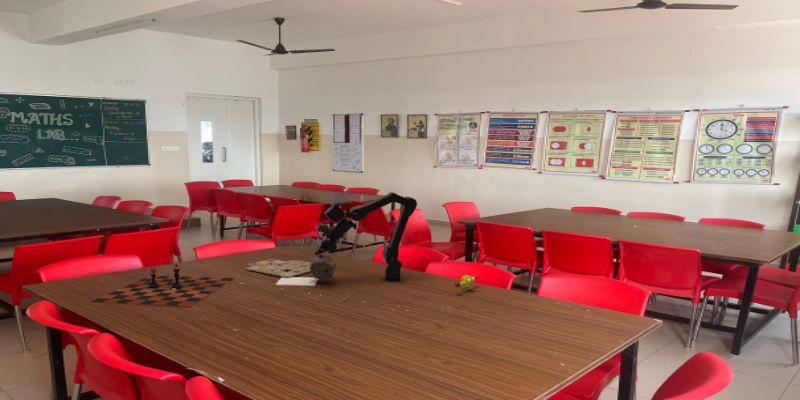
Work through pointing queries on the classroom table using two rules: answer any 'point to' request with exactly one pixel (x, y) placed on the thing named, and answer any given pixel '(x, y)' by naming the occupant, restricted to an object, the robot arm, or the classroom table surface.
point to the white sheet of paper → (297, 281)
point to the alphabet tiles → (280, 267)
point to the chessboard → (165, 290)
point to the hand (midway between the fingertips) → (315, 254)
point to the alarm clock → (322, 267)
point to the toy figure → (466, 281)
